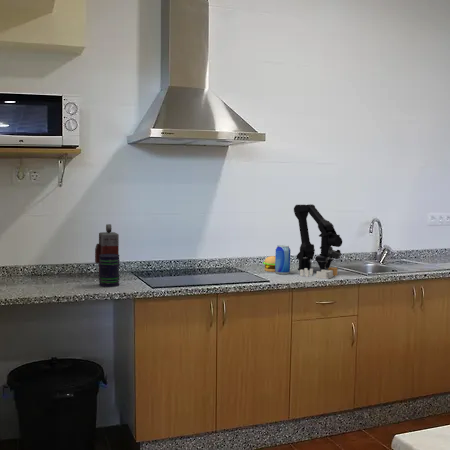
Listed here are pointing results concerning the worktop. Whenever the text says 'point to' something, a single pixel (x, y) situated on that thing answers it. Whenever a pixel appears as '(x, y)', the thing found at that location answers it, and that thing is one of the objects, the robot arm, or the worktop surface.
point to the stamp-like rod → (325, 269)
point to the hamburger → (270, 264)
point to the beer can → (282, 260)
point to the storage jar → (109, 270)
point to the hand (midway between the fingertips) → (325, 272)
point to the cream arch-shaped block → (324, 274)
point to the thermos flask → (107, 243)
